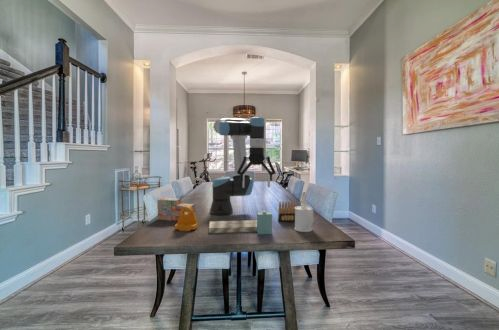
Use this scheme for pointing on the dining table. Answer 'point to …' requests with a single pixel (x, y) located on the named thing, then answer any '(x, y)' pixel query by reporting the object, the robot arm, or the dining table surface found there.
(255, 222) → the board
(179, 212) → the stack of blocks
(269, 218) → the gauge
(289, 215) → the ammunition clip
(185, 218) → the orange bell-shaped figure
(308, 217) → the white smoke grenade
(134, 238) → the dining table surface
